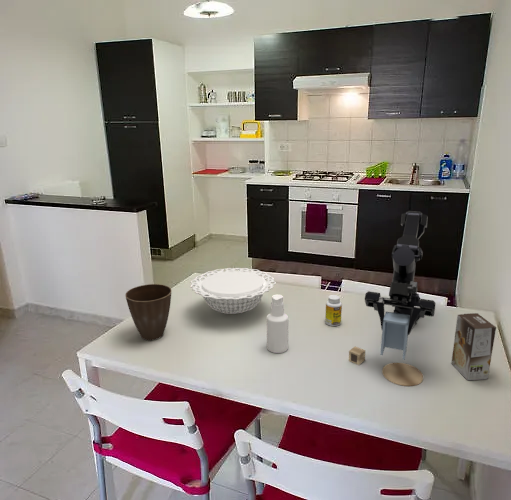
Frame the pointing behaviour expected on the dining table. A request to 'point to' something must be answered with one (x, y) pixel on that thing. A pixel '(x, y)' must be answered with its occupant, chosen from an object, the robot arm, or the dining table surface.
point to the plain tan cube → (357, 355)
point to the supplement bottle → (333, 311)
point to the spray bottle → (277, 326)
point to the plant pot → (149, 309)
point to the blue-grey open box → (395, 332)
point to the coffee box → (473, 346)
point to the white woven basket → (232, 288)
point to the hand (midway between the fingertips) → (395, 332)
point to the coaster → (402, 374)
